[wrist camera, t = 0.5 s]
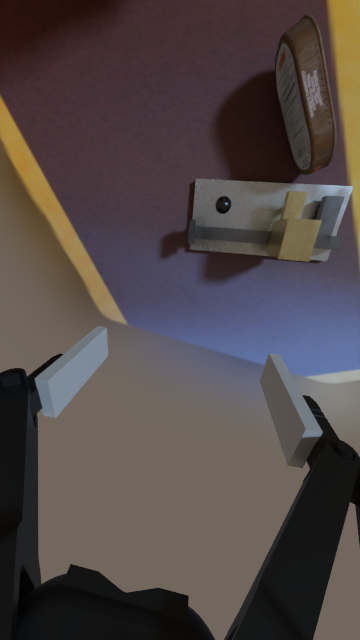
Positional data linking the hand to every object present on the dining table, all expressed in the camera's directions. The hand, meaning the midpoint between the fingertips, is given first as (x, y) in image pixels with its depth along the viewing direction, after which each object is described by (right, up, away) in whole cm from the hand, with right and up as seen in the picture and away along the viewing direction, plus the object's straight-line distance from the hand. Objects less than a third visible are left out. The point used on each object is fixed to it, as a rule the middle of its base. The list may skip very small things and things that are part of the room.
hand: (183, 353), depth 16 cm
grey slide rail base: (+14, +19, +18) cm, 30 cm away
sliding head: (+17, +18, +17) cm, 30 cm away
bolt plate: (+14, +20, +19) cm, 31 cm away
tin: (+16, +32, +14) cm, 38 cm away
